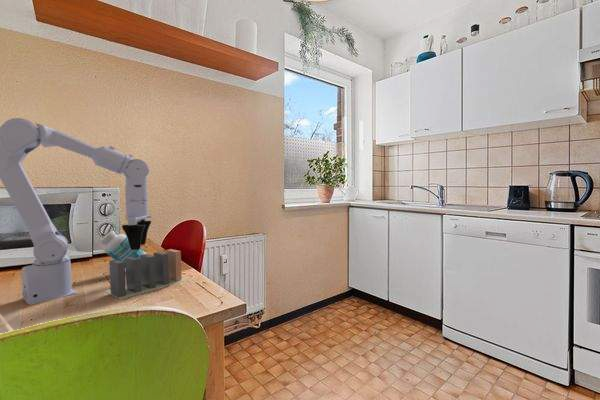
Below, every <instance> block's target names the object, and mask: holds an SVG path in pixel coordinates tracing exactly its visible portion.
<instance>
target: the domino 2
mask: <svg viewBox="0 0 600 400" xmlns="http://www.w3.org/2000/svg"><path fill="white" fill-rule="evenodd" d="M125 266H126V268H125V282H126V289H127V290H129V291H132V292H134V293H137V292H141V291H142V288H141V263H140V259H138V258H135V257H127V258H125Z"/></svg>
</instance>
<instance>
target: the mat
mask: <svg viewBox="0 0 600 400" xmlns="http://www.w3.org/2000/svg"><path fill="white" fill-rule="evenodd" d="M185 281H188V279H186V278H183V277H182V280H180V281H174V280H171V279H169V284H166V285H162V284H159V283H157V282H156V287H155V288H151V289H149V288H146V287H144V286H141V288H142V291H141V292H137V293H134V292H132V291H129V290H127V289H126V296H123V297H117V296H115V295H113V294H111V289H107V290H104V292H105V293H107V294H109V295H111V296H113V297H115V298H117V299H120V300H124V299H127V298H130V297H134V296H137V295H138V296H139V295H140V294H144V293H149V292H151V291H154V290H158V289H161V288H165V287H166V288H167V287H168V286H172V285H176V284H180V283H183V282H185Z"/></svg>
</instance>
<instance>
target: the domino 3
mask: <svg viewBox="0 0 600 400" xmlns="http://www.w3.org/2000/svg"><path fill="white" fill-rule="evenodd" d="M140 263H141V286H144V287H146V288H149V289H151V288H155V287H156V275H155V256H154V255H151V254H148V253H147V254H143V255H140Z"/></svg>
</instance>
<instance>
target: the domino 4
mask: <svg viewBox="0 0 600 400" xmlns="http://www.w3.org/2000/svg"><path fill="white" fill-rule="evenodd" d="M153 256H155V275H156V282H157V283H159V284H162V285H166V284H169V261H168V253H166V252H163V251H155V252H153Z"/></svg>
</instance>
